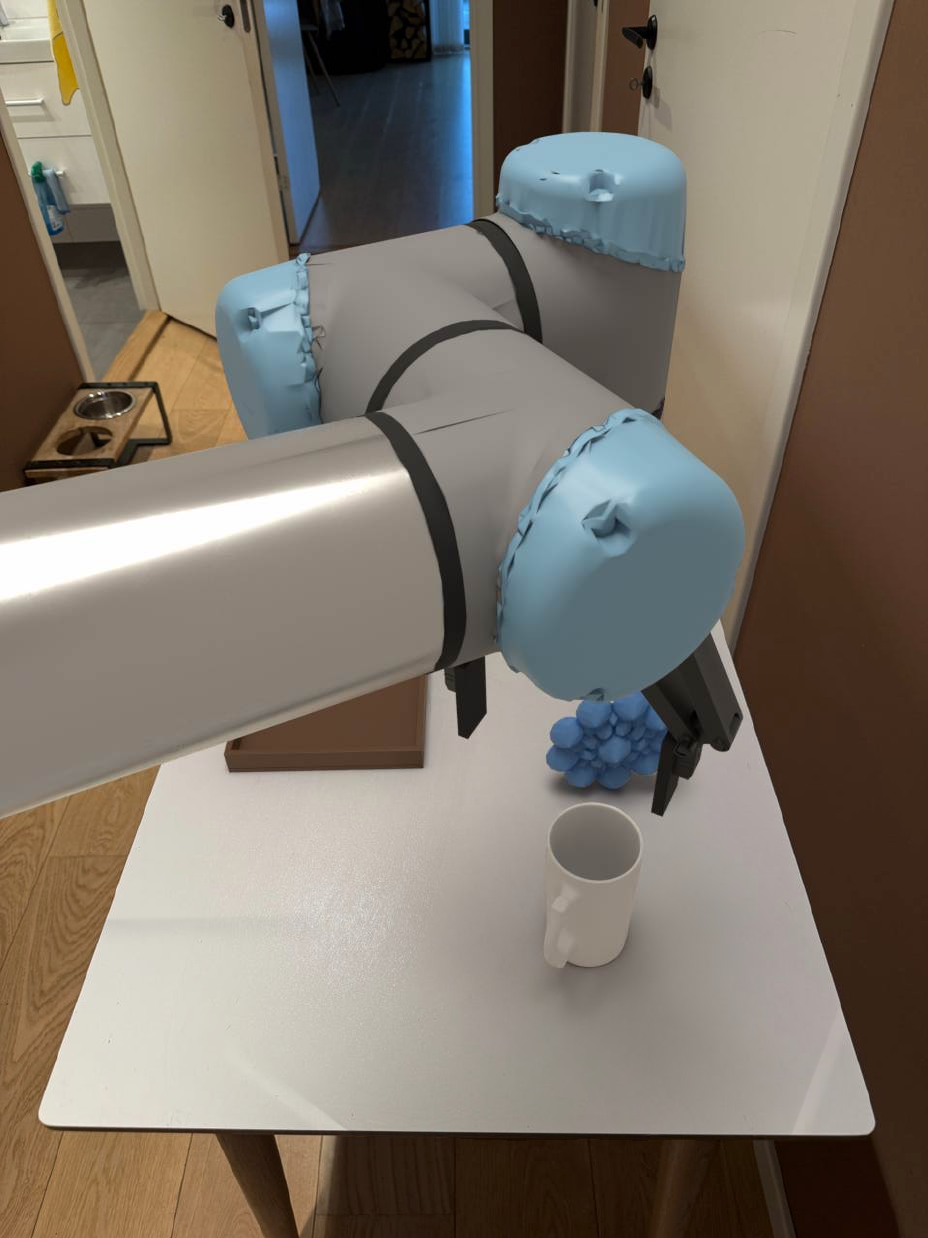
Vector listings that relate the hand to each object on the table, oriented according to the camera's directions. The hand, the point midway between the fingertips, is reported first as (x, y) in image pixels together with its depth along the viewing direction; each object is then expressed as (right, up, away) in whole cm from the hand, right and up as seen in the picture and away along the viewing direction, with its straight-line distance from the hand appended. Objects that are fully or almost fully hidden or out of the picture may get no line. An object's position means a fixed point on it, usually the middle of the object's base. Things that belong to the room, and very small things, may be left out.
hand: (564, 760), depth 60 cm
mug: (+2, -16, +12) cm, 20 cm away
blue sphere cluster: (+7, -5, +24) cm, 26 cm away
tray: (-19, +5, +37) cm, 42 cm away
